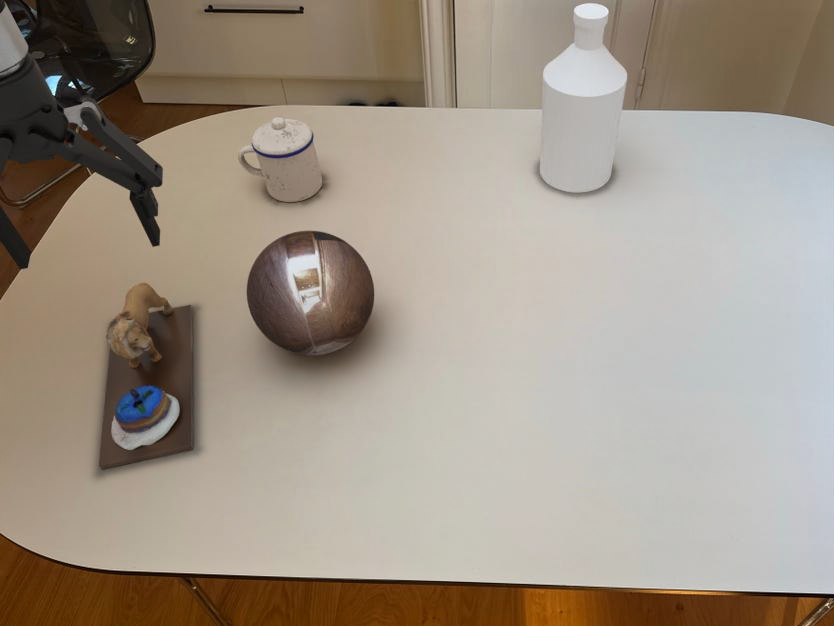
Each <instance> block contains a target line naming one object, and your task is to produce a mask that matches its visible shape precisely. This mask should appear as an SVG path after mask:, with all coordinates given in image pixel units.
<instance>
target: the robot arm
mask: <svg viewBox="0 0 834 626" xmlns="http://www.w3.org/2000/svg"><path fill="white" fill-rule="evenodd" d="M70 124H76V125H78V127H80V128H81V130H82V131H84V132H86V131H88V132H89V133H90V134H91V135H92V136H93V138H94V139H95V140H97V141H98V142H99V143H100V144H101V145H102V146H104V147H105V149H107V150H108V151H110V152H111V153H109V152H107V151H106V150H104V149H102V148H101V147H98V146H97V145H96V144H93V143H91V142H90V141H88V140H86V139H85V138H84V137H83V136H82V135H81V133H79V132H77V131H75V130H74V129H72V128H70V127H69V126H70ZM65 142H66V143H67V144H68V145H67V144H65ZM57 156H58V157H59V158H61V159H63V160H65V161H67V162H68V163H77V164H79V165H81V166H83V167H84V168H87V169H88V170H90V171H92V172H94V173H96V174H97V175H99V176H101V177H104V178H105V179H107V180H109V181H111V182H112V183H115V184H117V185H118V186H120V187H122V188H124V189H126V190H128V191H129V198H128V199H129V201H130V203H131V205H132V207H133V209H134V211H135V213H136V216H137V218H138V220H139V222H140V224H141V226H142V228H143V231H144V232H145V234H146V236H147V238H148V240H149V242H150V245H151V246H152V247H153V248H155V247H160V246H161V229H160V226H159V225H158V222H157V220H156V217H158V216H159V202H158V200H157V197H156V196H155V193H154V192H153V191H154V190H153V188H160V187H162V185H163V181H164V180H163V177H164V169H163V166H162V165H161V164H160V163H159V162H158V161H156V160H155V159H154V158H153V157H152V156H150V154H149V153H147V152H146V151H145V150H144V149H143V148H142V147H140V146H139V145H138V144H137V143H136V142H135V141H133V140H132V139H131V138H130V137H129V136H128V135H127V134H126V133H124V132H123V131H122V130H121V129H120V128H119V127H117V125H115V124H114V123H113V122H112V121H110V120H109V118H107V116H106V115H105V114H104V112H103V111H102V109H101V107H100V106H99V104H98V103H97V101H96V100H95V99H94V98H92V97H89V96H88V97H84V98H82V101H81V104H77V105H73V106H70V107H64V106H62V104H60V103H59V102H58V101H57V100H56V99H55V96H54V94H53V92H52V90H51V88H50V86H49V83H48V81H47V79H46V78H45V76H44V74H43V72H42V70H41V68H40V66H39V65H38V62H37V60H36V59H35V57H34V56H33V54H31V53H30V52H29V45H28V42H27V41H26V39H25V37H24V35H23V33H22V31H21V29H20V28H19V26H18V24H17V22H16V20H15V18H14V17H13V14H12V12H11V11H10V9H9V7H8V4H7V3H6V2H5V0H0V178H1V177H2V175H3V172H4V170H5V167H6V165H7V162H8V160H9V161H11V162H14V163H18V165H25V164H30V163H32V162H34V161H45V162H46V161H51V160H55V157H57ZM18 231H19V230H18V229H17V228H16V227H15V225H14V224H13V222H12V221H11V219H10V218H9V216H8V214H7V213H6V211H5V210H4V209H3V207H2V206H1V205H0V243H1V244H2V245H3V247H4V249H5V250H6V251H7V253H8V254H9V255H10V257H11V258H12V260H13V261H14V263H15V264H16V266H17V267H18V269H19V270H26V269H28V268H29V264H30V260H31V255H32V250H31V249H30V247H29V246H28V245H27V243H26V242H25V240H24V239H23V237H22V236H21V234H20V233H19V232H18Z"/></svg>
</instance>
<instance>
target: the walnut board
mask: <svg viewBox="0 0 834 626" xmlns="http://www.w3.org/2000/svg"><path fill="white" fill-rule="evenodd" d="M172 309H173V312H172V313H171V314H168V315H166V314H164V312H163V309H161V310H156V311H151V312H149V322H148V327H147V330H146V331H147V333H148V335H149V336H150V338H151V339H152V342H153V345H154V347H155V349H156V350H157V351H158V353H159V354H160V355H161V356H162V358H161V359H160V360H159V361H157V362H153V361H152V360H151V357H150V356H149V355H148V351H147V350H145V351H144V353H143V354H142V355H140V356H137V357H138V359H139V362H140V363H139V366H138V367H135V368H132V367H130V365H129V362H130V361H131V359H128V358H123V357H121V356H119V355H117V354H116V353H115V352H114V351H113V350H112V349H111V347H110V346H109V355H108V366H107V376H106V386H105V395H104V396H105V397H104V407H103V419H102V429H101V441H100V449H99V450H100V451H99V459H98V467H99V468H100V469H101V470H106V469H111V468H116V467H120V466H124V465H129V464H134V463H138V462H142V461H146V460H151V459H155V458H161V457H166V456H169V455H174V454H178V453H183V452H187V451H191V450H194V349H193V348H194V345H193V344H194V342H193V341H194V340H193V339H194V338H193V337H194V335H193V333H194V330H193V329H194V328H193V327H194V326H193V325H194V324H193V319H194V317H193V315H194V314H193V307H192V305H191V304H188V305H182V306H177V307H172ZM149 385H150V386H156V387H154V388H159V390H160V389H161V388H162V389H161V390H162V391H164V392H165V394H169V395H171V396H173V397H175V398H176V399H177V400H178V403H179V411H180V412H179V416H178V418H177V420H176V421H175V422H174V424H173V425H172V426H171V428H170V429H169V431H168V432H167V433H166V434H165V435H164V436H163V437H162V438H160V439H159V440H157V441H156V442H154V443H153V444H151V445H141V446H139V447H137V448H135V449H133V450H127V449H124V448H123V447H121V446H119V445H118V444H117V443H116V442H115V441H114V440H113V438H112V433H111V428H112V422H113V420H114V416H115V409H116V405H117V404H118V402H119V400H120V399H121V398H122V397H123V396H124V395H125V394H127V393H128V392H130V390H131V389H135V388H138V387H142V386H149Z"/></svg>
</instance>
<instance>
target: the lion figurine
mask: <svg viewBox="0 0 834 626" xmlns="http://www.w3.org/2000/svg"><path fill="white" fill-rule="evenodd" d="M151 308H152V309H160V308H162V310H163V312H164V314H166V315H168V314H171V313H172V312H173V309H172V308H173V307H172V305H171V304H170V303H169V301H168V299H167V298H166V297H164V296H160V295H159V294H158V292H157V291H156V290H155V289H154V288H153V287H152V286H151V285H150V284H149V283H147V282H140V283H137V284H135V285H133V286H132V287H131V288H129V290H128V291H127V292H126V294H125V302H124V305H123V308H122V311H121V313H119V314H118V315H117V316H115V317H114V318H113V319H112V321H110V322H109V324H108V325H109V326H108V327H107V329H106V330H107V331H106V335H105V336H106V340H107V342H108V344H109V348H110V347H111V349H112V350H113V351H114V352H115V353H116V354H117V355H119V356H121V357H123V358H128V359H131V361H130V362H129V365H130V367H132V368H135V367H138V366H139V363H140V362H139V359H138V357H137V356H140V355H142V354H143V353H144V351H145V350H147V351H148V355H149V356H150V357H151V360H152V361H153V362H157V361H159V360H160V359H161V358H162V356H161V355H160V354H159V353H158V351H157V350H156V349H155V347H154V345H153V342H152V339H151V338H150V336H149V335H148V333H147V331H146V330H147V327H148V322H149V313H150V312H149V310H150V309H151Z"/></svg>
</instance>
